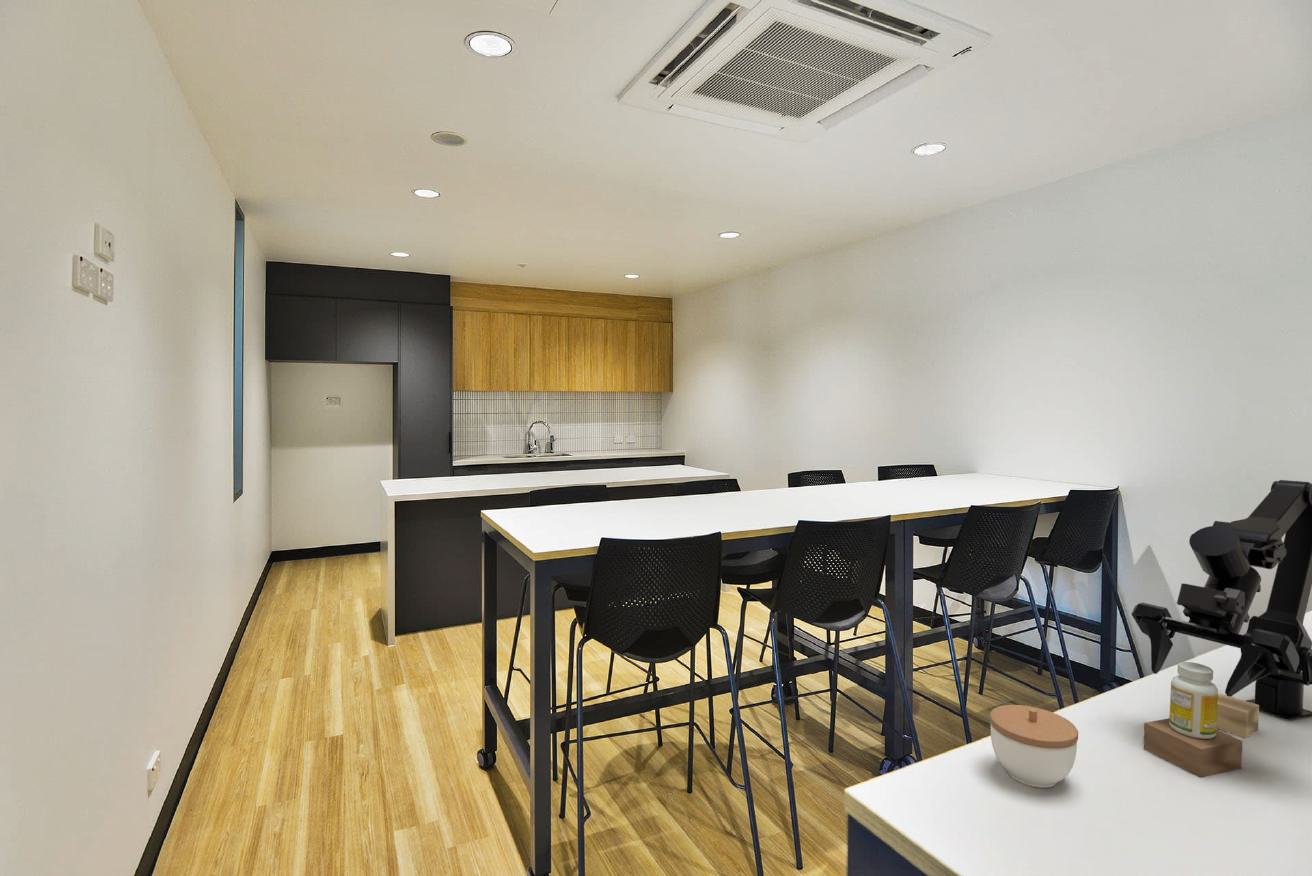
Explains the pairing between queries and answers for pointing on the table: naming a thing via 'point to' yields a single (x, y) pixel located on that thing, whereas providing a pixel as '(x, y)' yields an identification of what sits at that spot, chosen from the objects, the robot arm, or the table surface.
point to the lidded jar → (1033, 744)
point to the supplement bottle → (1193, 701)
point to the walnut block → (1193, 749)
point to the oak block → (1237, 716)
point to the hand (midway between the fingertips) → (1189, 682)
